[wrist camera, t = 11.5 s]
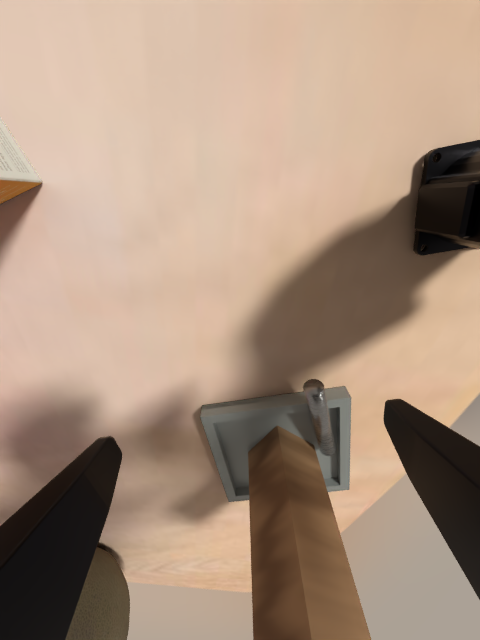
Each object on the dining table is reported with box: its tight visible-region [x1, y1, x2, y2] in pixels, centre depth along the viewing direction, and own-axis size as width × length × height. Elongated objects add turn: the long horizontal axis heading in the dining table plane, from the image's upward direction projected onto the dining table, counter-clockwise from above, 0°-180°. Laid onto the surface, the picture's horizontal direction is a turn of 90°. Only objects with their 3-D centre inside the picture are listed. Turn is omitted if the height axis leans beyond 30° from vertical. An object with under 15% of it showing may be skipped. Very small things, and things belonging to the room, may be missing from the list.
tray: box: [200, 386, 351, 502], centre depth 27 cm, size 14×14×2 cm
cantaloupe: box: [66, 547, 130, 640], centre depth 31 cm, size 14×14×15 cm
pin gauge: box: [303, 379, 336, 456], centre depth 23 cm, size 10×2×2 cm
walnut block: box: [248, 425, 371, 640], centre depth 21 cm, size 5×5×14 cm
